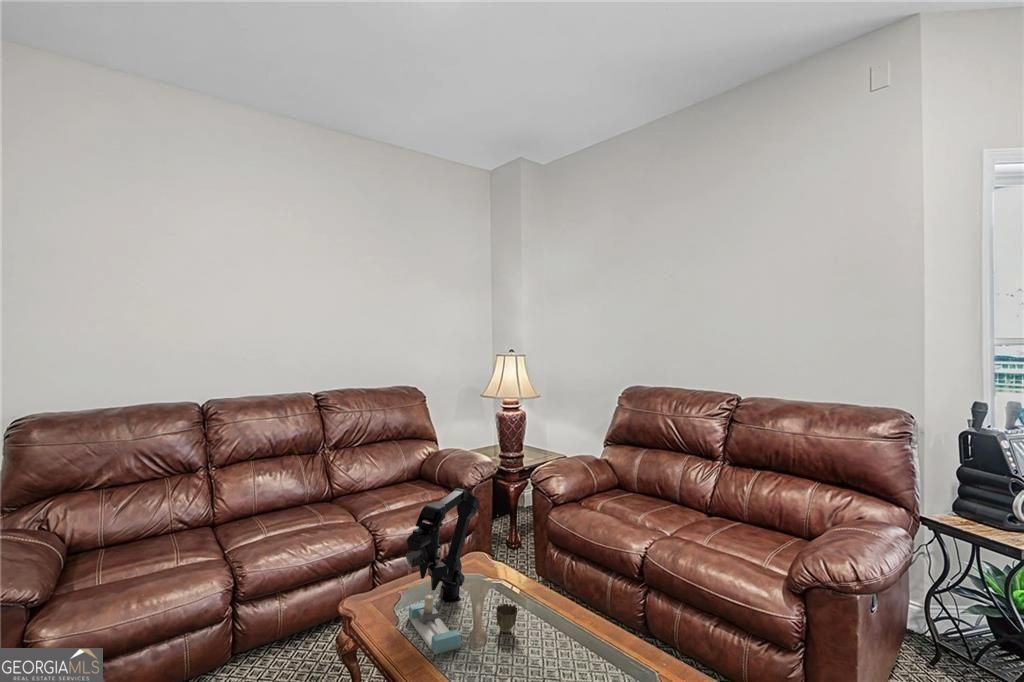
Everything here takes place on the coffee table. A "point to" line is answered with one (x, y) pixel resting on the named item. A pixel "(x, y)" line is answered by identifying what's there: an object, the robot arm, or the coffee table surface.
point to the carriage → (428, 610)
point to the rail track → (434, 632)
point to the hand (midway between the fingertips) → (427, 584)
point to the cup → (506, 617)
